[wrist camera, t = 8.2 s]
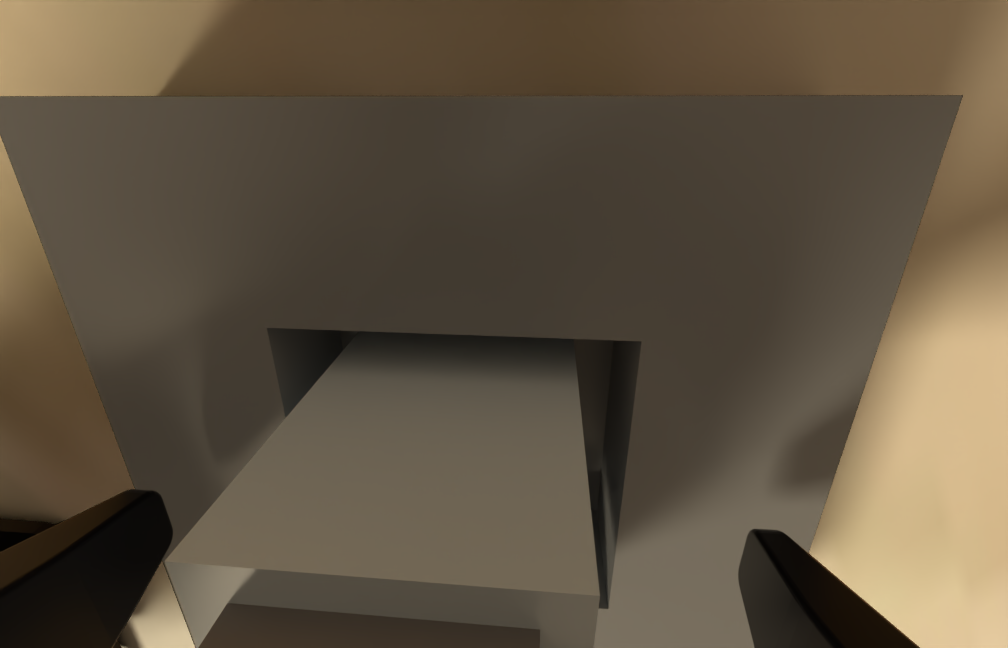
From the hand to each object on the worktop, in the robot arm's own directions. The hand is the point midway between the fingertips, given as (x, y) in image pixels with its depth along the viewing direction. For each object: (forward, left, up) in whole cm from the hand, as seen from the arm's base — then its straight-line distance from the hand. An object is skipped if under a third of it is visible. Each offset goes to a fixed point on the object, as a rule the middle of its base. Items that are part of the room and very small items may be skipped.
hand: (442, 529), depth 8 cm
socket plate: (0, 0, -4) cm, 4 cm away
